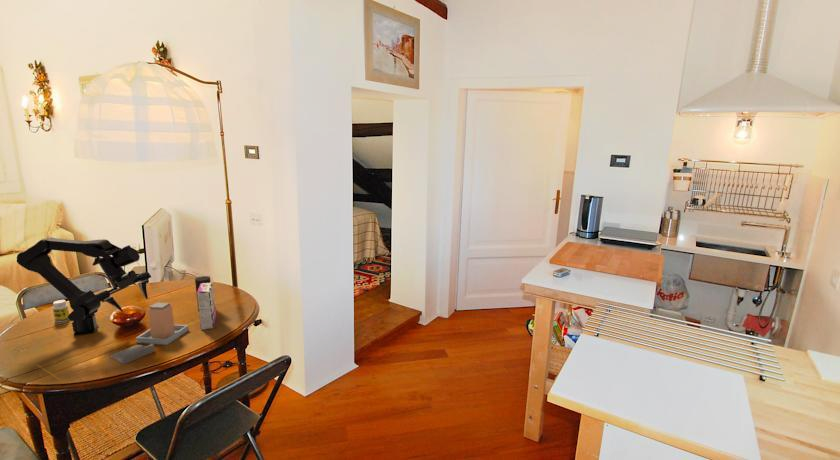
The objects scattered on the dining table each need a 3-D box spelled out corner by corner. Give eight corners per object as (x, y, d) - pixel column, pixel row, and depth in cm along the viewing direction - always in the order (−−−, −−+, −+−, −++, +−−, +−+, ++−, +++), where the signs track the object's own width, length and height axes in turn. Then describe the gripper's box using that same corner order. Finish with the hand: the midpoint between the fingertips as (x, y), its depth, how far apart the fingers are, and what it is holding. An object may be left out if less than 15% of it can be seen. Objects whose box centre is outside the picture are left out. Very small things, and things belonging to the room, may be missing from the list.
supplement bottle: (53, 323, 169) (49, 304, 167) (56, 319, 173) (53, 300, 171) (68, 321, 171) (64, 302, 169) (71, 317, 175) (68, 298, 173)
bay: (109, 356, 145) (107, 349, 145) (139, 344, 154) (138, 337, 153) (124, 364, 141) (123, 357, 140) (154, 352, 149) (153, 344, 148)
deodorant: (215, 309, 186) (212, 278, 182) (201, 313, 182) (197, 281, 178) (209, 306, 190) (207, 275, 186) (196, 309, 185) (192, 278, 182)
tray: (136, 343, 155) (135, 337, 154) (160, 328, 167) (159, 323, 166) (167, 345, 154) (166, 340, 153) (188, 330, 166) (188, 325, 165)
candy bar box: (203, 319, 176) (200, 283, 173) (216, 317, 178) (213, 281, 175) (200, 330, 166) (196, 292, 163) (213, 328, 168) (210, 291, 164)
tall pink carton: (151, 338, 158) (147, 307, 155) (160, 332, 163) (157, 301, 160) (166, 339, 157) (162, 308, 155) (175, 333, 162) (171, 302, 159)
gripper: (90, 282, 147) (113, 319, 151) (144, 258, 160) (165, 292, 164) (84, 283, 155) (107, 318, 158) (137, 259, 168) (156, 292, 171)
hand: (134, 305), depth 163 cm, fingers open, 9 cm apart
